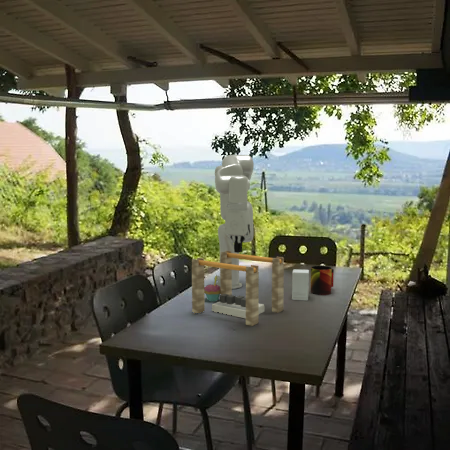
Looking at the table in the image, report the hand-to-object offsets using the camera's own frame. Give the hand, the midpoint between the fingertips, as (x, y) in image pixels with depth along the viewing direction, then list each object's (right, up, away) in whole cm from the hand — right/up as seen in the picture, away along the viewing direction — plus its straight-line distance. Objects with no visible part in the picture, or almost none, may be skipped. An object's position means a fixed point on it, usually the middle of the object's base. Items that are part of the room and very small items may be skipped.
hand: (238, 252), depth 201 cm
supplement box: (+29, -23, +23) cm, 43 cm away
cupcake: (-11, -23, +21) cm, 33 cm away
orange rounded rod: (-6, -5, -7) cm, 11 cm away
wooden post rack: (0, -25, +3) cm, 25 cm away
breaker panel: (0, -25, +3) cm, 25 cm away
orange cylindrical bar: (+6, -3, +9) cm, 11 cm away
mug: (+41, -21, +35) cm, 58 cm away
